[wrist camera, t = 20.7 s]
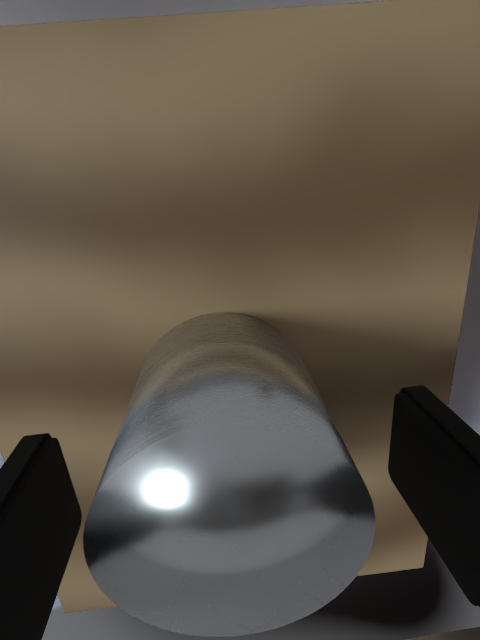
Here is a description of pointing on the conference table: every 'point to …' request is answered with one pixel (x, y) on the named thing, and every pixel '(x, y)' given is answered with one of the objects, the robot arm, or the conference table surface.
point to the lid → (237, 217)
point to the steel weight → (227, 487)
